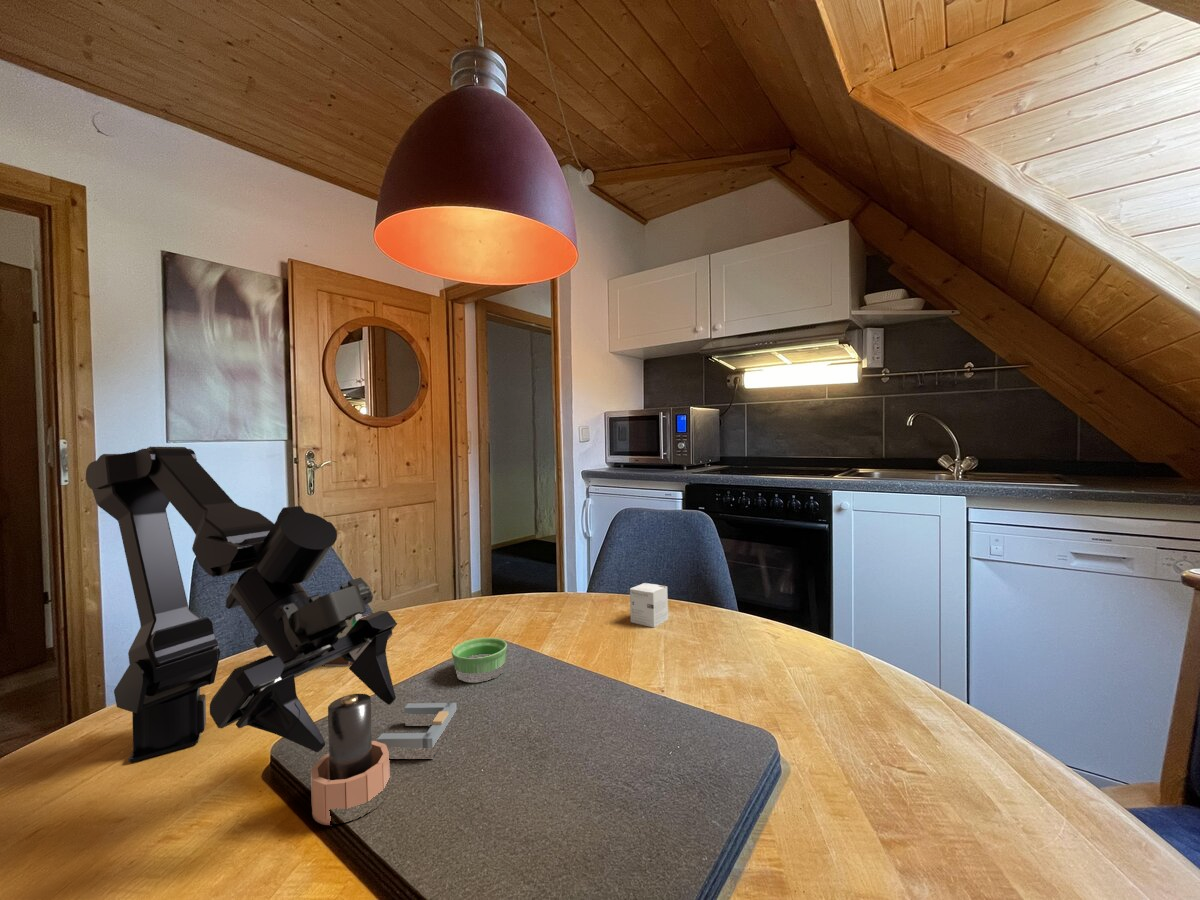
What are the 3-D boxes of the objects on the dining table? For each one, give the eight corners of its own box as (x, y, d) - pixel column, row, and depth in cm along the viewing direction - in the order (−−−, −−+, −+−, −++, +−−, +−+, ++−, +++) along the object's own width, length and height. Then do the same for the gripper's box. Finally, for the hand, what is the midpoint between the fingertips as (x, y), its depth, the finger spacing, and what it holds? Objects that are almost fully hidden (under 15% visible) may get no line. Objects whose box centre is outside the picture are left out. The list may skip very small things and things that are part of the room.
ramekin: (450, 667, 83) (450, 642, 83) (503, 658, 86) (502, 634, 86) (454, 690, 75) (453, 662, 75) (512, 679, 78) (511, 652, 78)
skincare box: (630, 623, 102) (628, 588, 103) (645, 615, 107) (644, 581, 107) (654, 628, 99) (653, 592, 99) (669, 619, 103) (667, 585, 104)
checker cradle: (377, 760, 57) (377, 735, 57) (408, 721, 66) (408, 700, 66) (432, 759, 57) (432, 735, 57) (456, 721, 65) (456, 699, 66)
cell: (325, 811, 48) (323, 711, 48) (334, 785, 52) (332, 692, 52) (369, 801, 49) (367, 703, 50) (375, 777, 53) (373, 686, 53)
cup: (315, 836, 46) (314, 794, 46) (309, 795, 52) (308, 757, 52) (395, 803, 50) (394, 764, 50) (382, 768, 56) (381, 733, 56)
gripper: (227, 582, 44) (321, 723, 40) (383, 545, 61) (458, 641, 57) (173, 660, 46) (256, 800, 42) (337, 603, 64) (407, 698, 60)
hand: (360, 723), depth 50 cm, fingers open, 9 cm apart
